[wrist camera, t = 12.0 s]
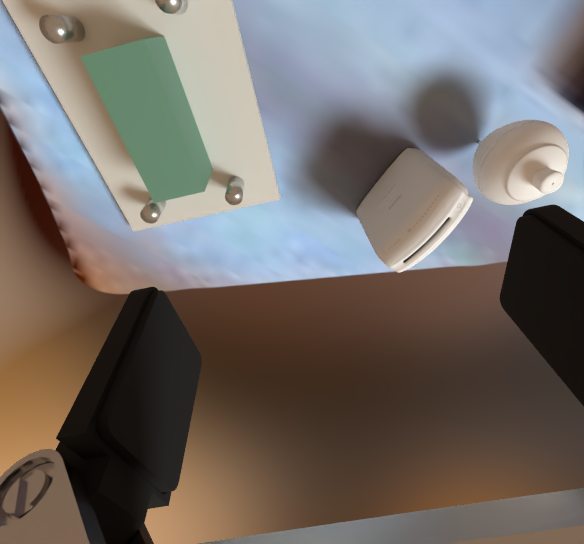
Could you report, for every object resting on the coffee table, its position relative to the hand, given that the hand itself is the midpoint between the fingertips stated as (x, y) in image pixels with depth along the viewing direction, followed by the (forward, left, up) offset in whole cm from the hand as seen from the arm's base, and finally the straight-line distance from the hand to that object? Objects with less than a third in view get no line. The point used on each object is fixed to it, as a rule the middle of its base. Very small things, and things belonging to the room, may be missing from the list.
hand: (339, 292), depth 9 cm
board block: (+12, -1, -29) cm, 31 cm away
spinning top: (-20, +9, -31) cm, 38 cm away
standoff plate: (+12, -1, -30) cm, 33 cm away
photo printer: (-10, +12, -31) cm, 34 cm away
